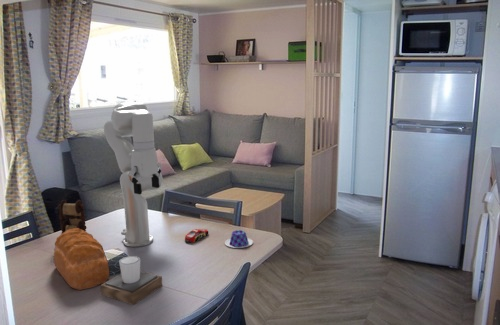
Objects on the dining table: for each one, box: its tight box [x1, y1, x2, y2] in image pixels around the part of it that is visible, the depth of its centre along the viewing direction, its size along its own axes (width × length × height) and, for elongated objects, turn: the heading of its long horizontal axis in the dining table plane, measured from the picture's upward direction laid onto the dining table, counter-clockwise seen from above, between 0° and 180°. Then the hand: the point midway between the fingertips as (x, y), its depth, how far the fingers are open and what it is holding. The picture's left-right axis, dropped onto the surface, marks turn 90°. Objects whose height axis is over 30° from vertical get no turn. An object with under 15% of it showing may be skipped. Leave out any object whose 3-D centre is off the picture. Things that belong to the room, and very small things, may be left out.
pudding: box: [224, 229, 254, 249], centre depth 182 cm, size 12×12×5 cm
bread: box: [53, 228, 110, 291], centre depth 155 cm, size 14×26×16 cm, turn 38°
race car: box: [184, 228, 209, 243], centre depth 189 cm, size 13×5×4 cm, turn 149°
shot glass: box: [118, 255, 141, 283], centre depth 143 cm, size 7×7×7 cm
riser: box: [100, 269, 163, 306], centre depth 144 cm, size 14×14×4 cm
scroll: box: [57, 199, 93, 236], centre depth 181 cm, size 15×15×20 cm
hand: (147, 190), depth 161 cm, fingers open, 9 cm apart
